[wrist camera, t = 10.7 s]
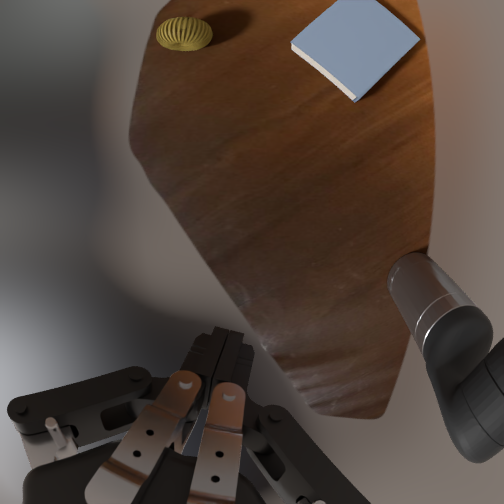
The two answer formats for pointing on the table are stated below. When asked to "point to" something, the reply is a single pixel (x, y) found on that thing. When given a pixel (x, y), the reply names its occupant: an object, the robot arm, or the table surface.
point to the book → (354, 44)
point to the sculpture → (184, 34)
